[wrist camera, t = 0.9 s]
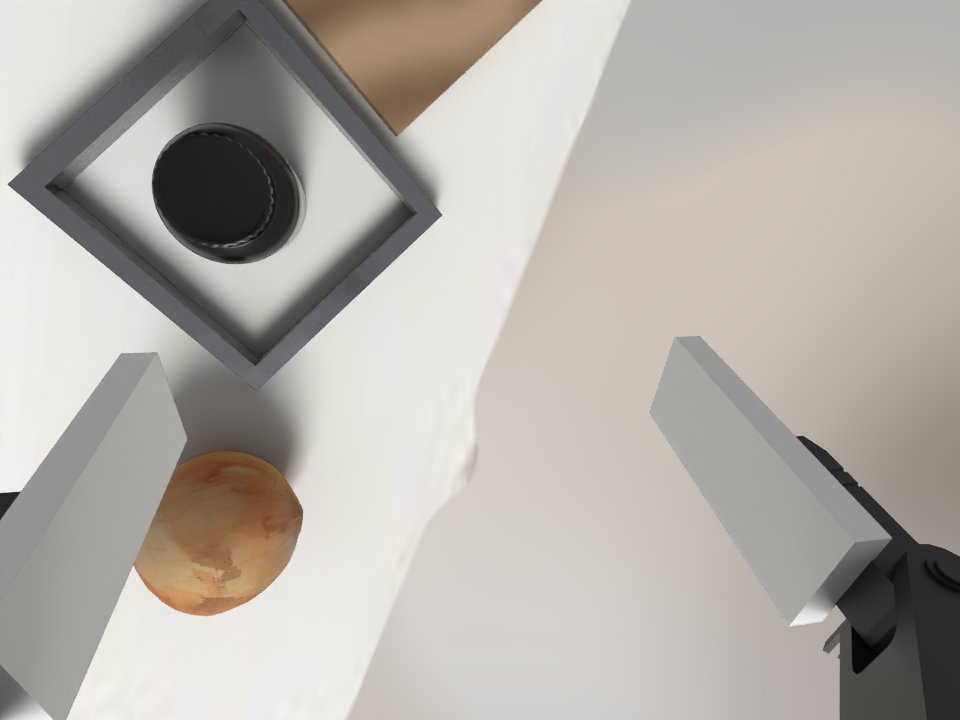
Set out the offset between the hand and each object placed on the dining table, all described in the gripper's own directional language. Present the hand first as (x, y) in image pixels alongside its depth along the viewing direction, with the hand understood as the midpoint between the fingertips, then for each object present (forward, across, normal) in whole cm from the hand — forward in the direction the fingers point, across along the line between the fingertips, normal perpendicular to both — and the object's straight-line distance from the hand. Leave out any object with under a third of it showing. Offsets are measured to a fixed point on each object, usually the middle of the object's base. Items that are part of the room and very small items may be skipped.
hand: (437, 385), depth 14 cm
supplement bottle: (+24, -10, -3) cm, 27 cm away
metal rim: (+24, -10, -3) cm, 26 cm away
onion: (+17, -13, -22) cm, 31 cm away
